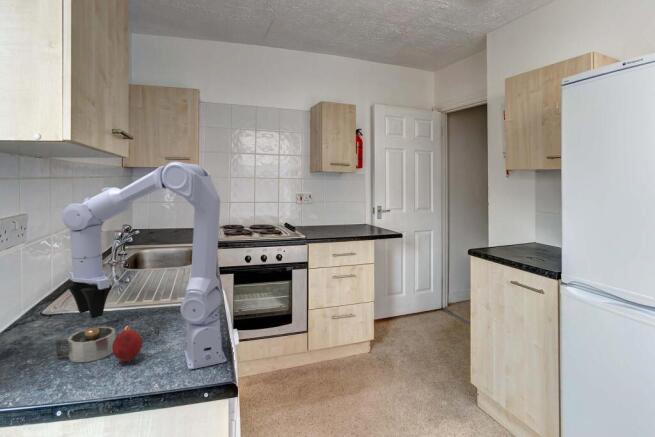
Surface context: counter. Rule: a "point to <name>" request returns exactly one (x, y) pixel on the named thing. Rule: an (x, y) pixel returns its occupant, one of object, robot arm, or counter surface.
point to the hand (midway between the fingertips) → (91, 314)
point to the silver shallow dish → (87, 346)
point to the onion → (127, 344)
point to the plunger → (92, 334)
